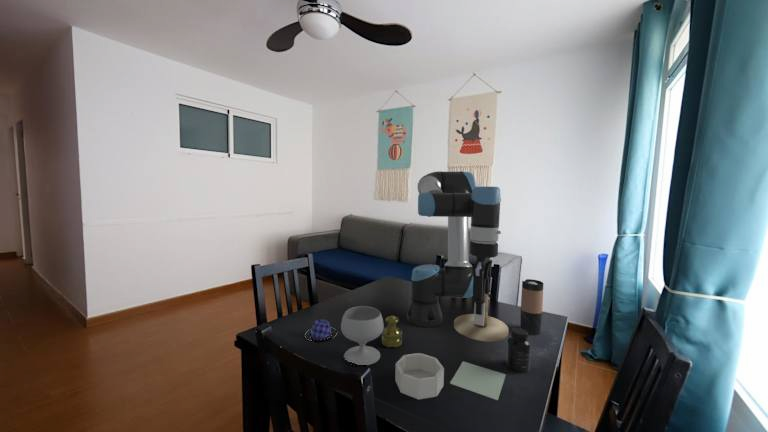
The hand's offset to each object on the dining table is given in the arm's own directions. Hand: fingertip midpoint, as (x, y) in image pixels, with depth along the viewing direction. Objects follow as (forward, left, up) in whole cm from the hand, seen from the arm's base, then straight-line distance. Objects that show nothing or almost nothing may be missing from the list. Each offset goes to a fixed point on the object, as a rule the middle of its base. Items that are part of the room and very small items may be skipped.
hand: (480, 321), depth 85 cm
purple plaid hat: (-58, -4, -18) cm, 61 cm away
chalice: (-36, -8, -18) cm, 41 cm away
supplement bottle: (+9, +13, -18) cm, 24 cm away
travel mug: (+10, +43, -18) cm, 47 cm away
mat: (0, 0, -18) cm, 18 cm away
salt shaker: (-32, +5, -18) cm, 37 cm away
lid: (0, 0, -2) cm, 2 cm away
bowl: (-14, -11, -18) cm, 25 cm away
